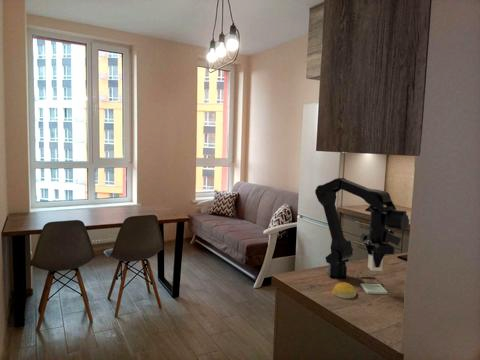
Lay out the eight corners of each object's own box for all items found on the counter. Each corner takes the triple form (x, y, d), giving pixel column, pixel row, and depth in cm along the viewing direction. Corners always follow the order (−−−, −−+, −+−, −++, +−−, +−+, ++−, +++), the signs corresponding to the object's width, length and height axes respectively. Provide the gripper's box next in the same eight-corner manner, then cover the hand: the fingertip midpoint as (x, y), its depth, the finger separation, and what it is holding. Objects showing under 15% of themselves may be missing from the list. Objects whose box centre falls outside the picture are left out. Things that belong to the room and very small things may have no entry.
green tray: (367, 294, 131) (367, 291, 131) (360, 286, 139) (360, 283, 139) (387, 294, 131) (387, 291, 131) (379, 287, 139) (379, 284, 139)
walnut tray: (363, 285, 139) (364, 282, 139) (357, 278, 147) (357, 276, 147) (382, 286, 139) (382, 283, 139) (375, 279, 147) (375, 276, 147)
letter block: (371, 270, 132) (372, 257, 132) (367, 266, 136) (368, 254, 136) (382, 271, 132) (383, 257, 132) (378, 267, 136) (379, 254, 136)
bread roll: (330, 297, 129) (330, 286, 128) (335, 288, 137) (335, 278, 136) (354, 302, 125) (354, 291, 125) (357, 293, 133) (358, 282, 133)
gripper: (411, 231, 123) (407, 275, 125) (389, 220, 142) (386, 258, 143) (379, 230, 123) (376, 274, 125) (361, 219, 142) (358, 257, 143)
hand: (374, 265), depth 134 cm, fingers closed on letter block, 4 cm apart
